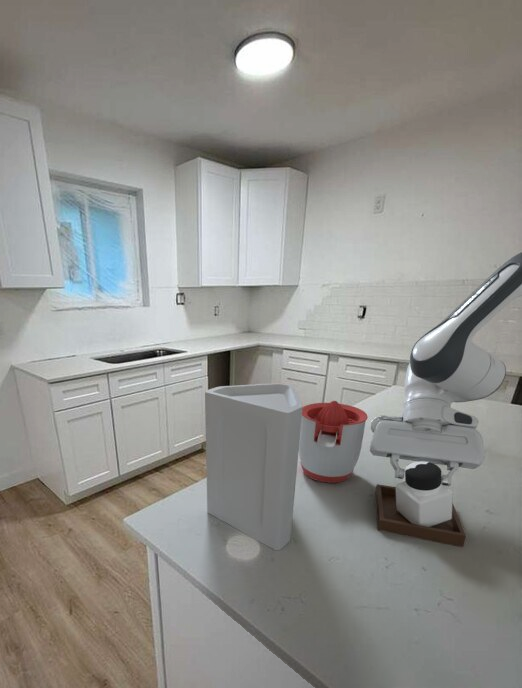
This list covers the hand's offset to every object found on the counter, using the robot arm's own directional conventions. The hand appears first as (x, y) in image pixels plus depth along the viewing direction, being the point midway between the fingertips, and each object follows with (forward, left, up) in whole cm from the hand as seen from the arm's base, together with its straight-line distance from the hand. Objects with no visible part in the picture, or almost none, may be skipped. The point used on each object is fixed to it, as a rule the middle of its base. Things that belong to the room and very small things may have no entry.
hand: (421, 481), depth 73 cm
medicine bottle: (-2, 0, -8) cm, 8 cm away
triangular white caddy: (+31, +10, -9) cm, 34 cm away
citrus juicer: (+19, -13, -9) cm, 25 cm away
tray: (0, 0, -9) cm, 9 cm away
